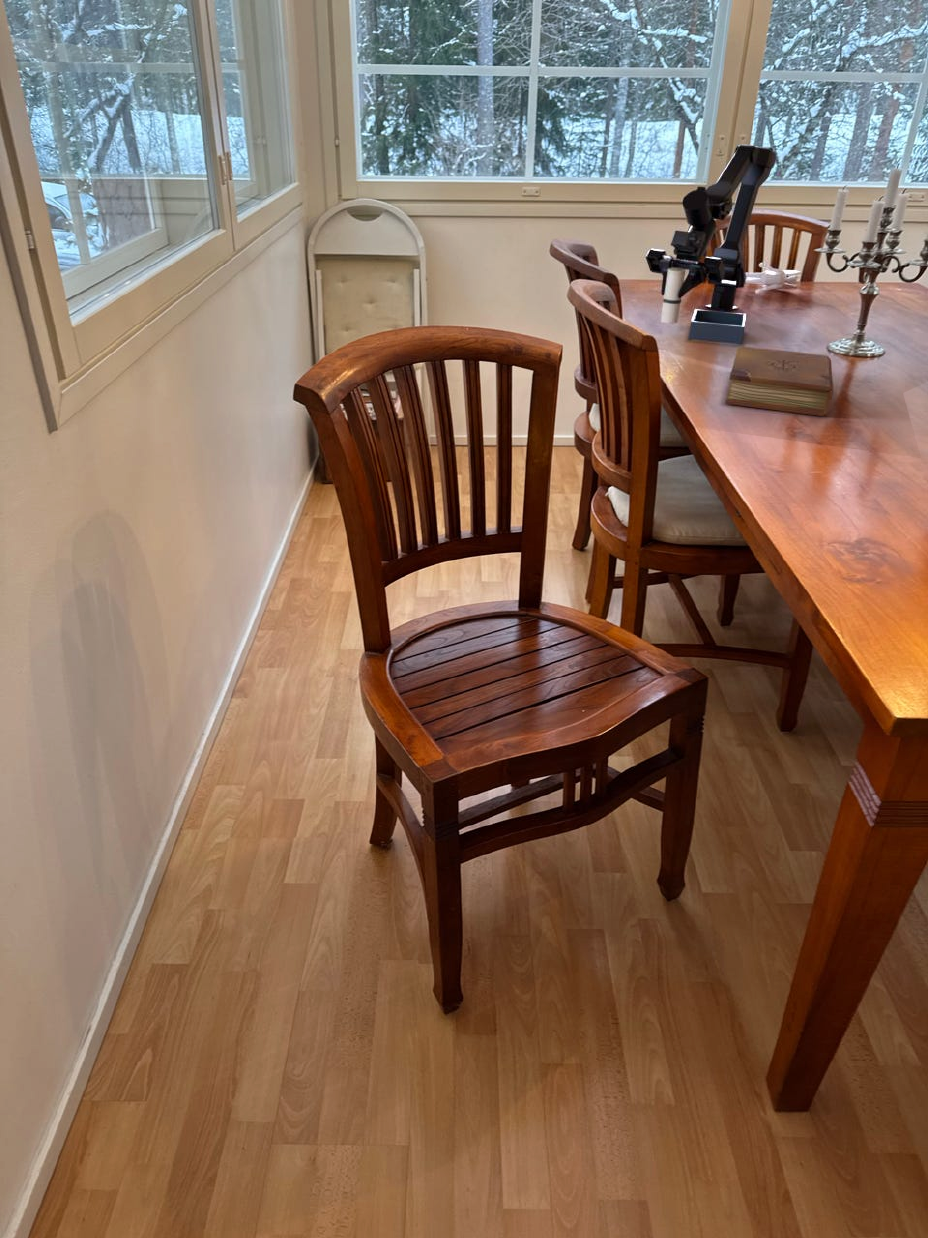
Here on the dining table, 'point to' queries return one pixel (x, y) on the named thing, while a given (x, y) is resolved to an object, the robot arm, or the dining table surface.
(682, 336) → the dining table surface
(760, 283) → the figurine
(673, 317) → the light grey piece
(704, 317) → the box
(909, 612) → the dining table surface
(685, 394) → the dining table surface
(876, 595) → the dining table surface
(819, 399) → the diary
